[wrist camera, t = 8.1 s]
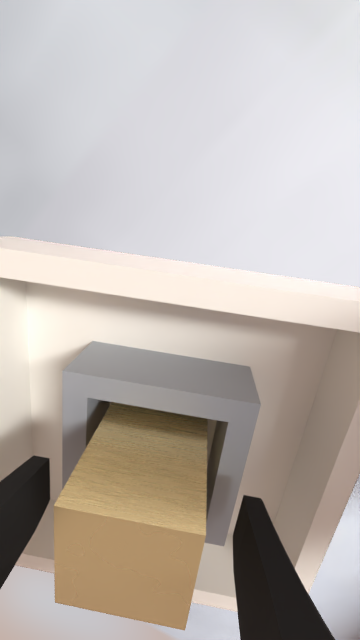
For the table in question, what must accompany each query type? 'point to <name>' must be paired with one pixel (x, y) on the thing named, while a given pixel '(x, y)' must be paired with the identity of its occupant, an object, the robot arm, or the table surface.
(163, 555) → the wooden plug
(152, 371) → the walled box
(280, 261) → the table surface
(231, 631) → the table surface
